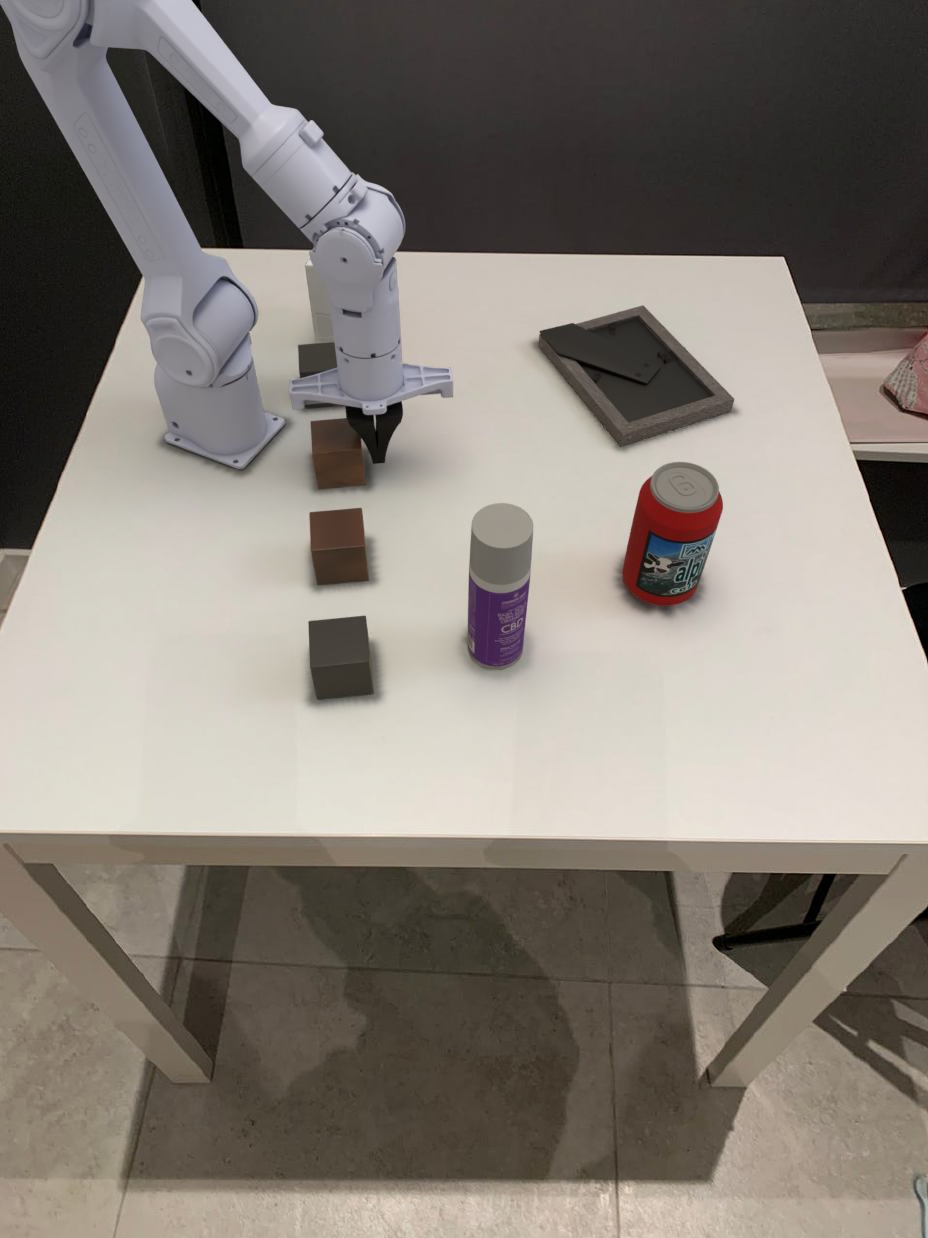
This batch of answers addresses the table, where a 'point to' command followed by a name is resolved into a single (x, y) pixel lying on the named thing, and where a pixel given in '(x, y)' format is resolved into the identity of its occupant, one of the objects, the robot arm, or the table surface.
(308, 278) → the small box
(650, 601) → the beverage can
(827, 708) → the table surface
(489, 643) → the container
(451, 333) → the table surface
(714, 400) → the picture frame
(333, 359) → the charcoal end block
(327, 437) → the walnut block
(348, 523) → the walnut block
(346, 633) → the charcoal front block
